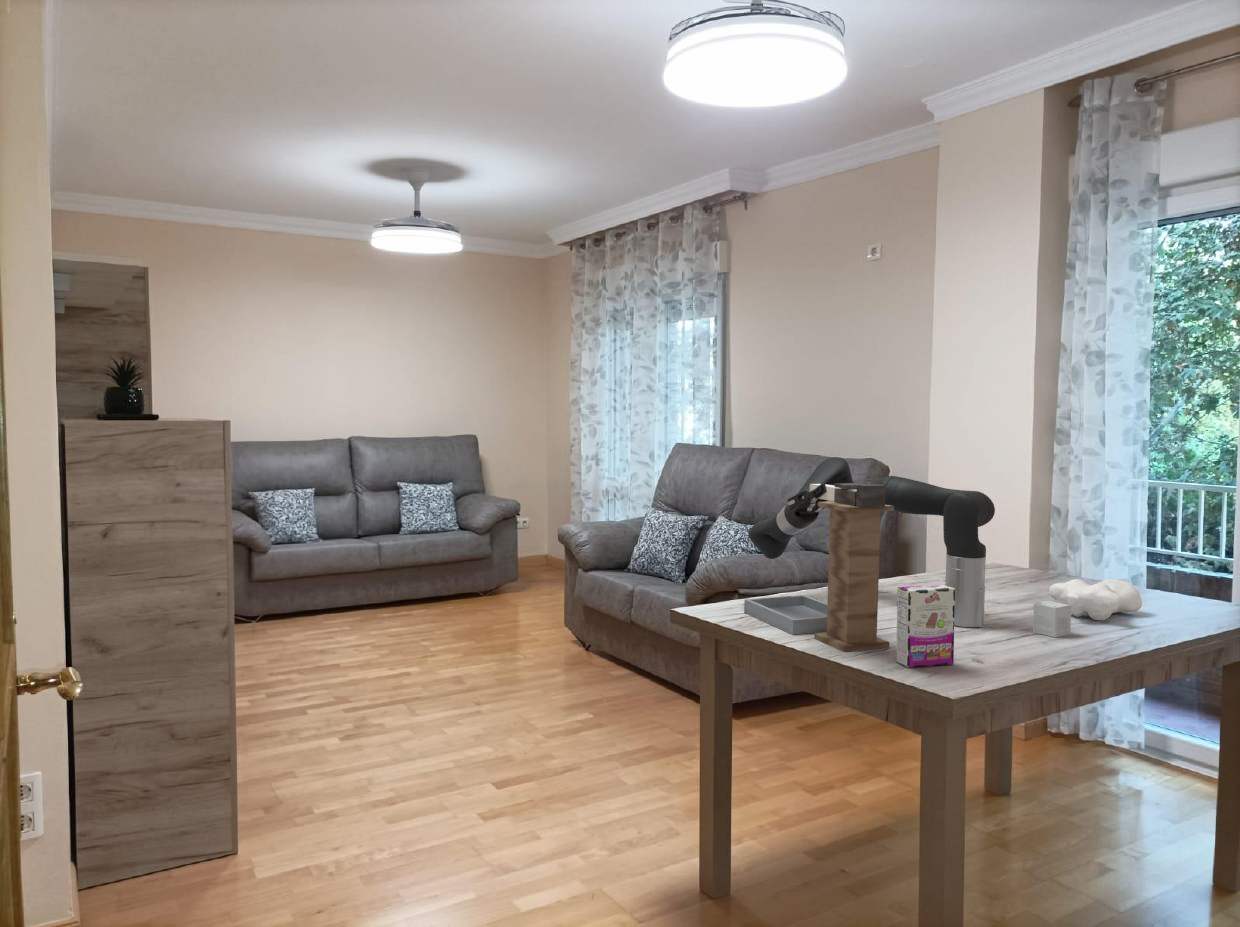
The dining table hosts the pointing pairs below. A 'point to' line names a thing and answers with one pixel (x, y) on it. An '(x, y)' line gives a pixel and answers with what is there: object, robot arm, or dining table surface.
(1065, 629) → the skincare box
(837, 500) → the socket stand
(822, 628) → the tray
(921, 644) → the candy bar box
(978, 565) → the robot arm
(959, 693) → the dining table surface
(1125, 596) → the torso sculpture
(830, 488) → the plug
